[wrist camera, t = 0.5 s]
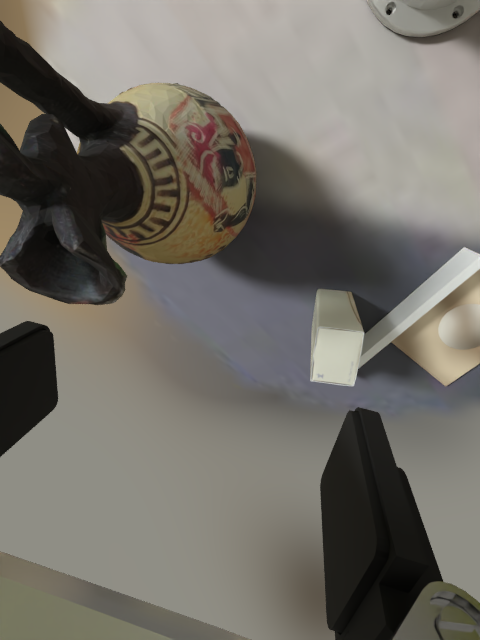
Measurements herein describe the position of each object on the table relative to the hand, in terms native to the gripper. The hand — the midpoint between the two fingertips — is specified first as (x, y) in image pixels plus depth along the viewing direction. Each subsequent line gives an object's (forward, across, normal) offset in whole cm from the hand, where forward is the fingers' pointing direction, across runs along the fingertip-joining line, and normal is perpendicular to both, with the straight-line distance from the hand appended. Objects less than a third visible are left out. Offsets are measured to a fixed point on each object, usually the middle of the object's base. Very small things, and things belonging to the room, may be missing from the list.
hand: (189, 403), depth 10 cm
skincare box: (+32, -9, +7) cm, 34 cm away
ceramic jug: (+32, +10, -6) cm, 34 cm away
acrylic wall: (+32, -16, +6) cm, 37 cm away
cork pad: (+32, -24, +5) cm, 41 cm away
